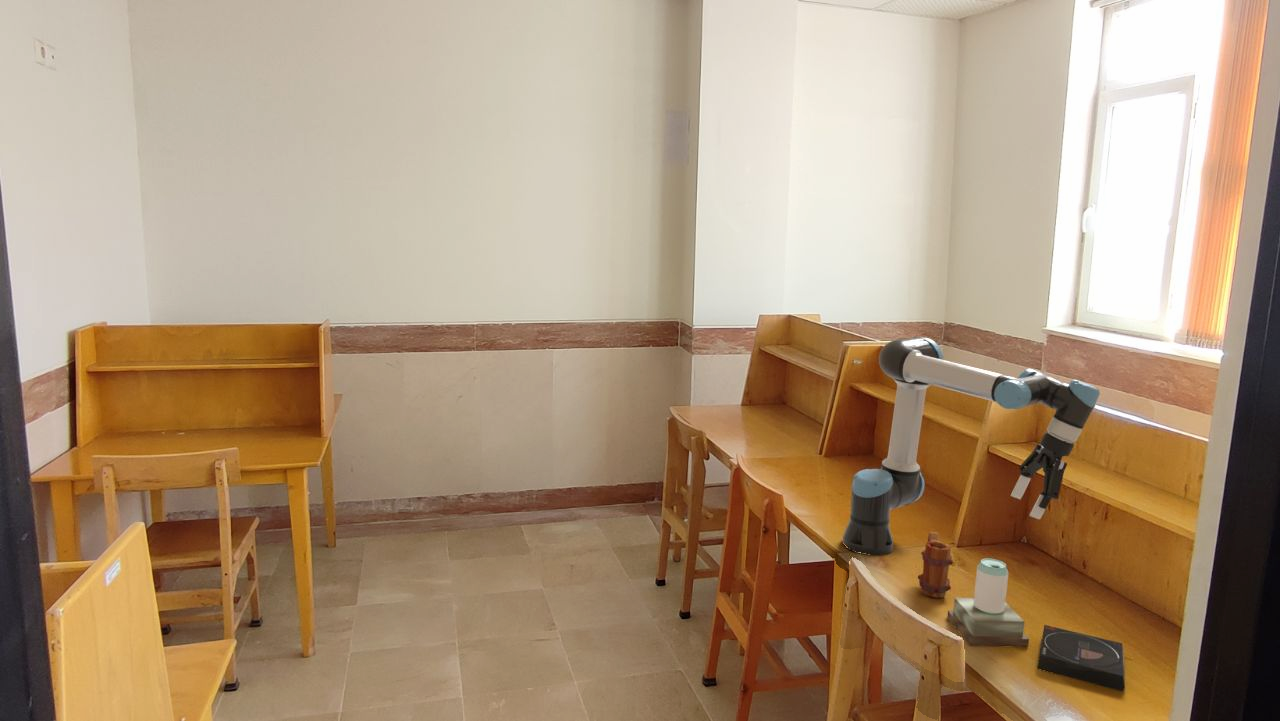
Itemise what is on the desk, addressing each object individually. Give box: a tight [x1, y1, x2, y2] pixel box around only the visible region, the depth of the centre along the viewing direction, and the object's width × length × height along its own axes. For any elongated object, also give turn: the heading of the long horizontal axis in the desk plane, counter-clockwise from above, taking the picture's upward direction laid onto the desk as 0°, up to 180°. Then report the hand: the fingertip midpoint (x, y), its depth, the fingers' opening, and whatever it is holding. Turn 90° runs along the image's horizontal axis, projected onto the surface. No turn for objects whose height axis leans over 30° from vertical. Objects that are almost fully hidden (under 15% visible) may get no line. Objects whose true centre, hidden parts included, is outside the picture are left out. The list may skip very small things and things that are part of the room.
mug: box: [917, 531, 954, 598], centre depth 224 cm, size 15×8×15 cm, turn 168°
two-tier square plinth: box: [946, 597, 1030, 648], centre depth 202 cm, size 14×14×6 cm
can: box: [973, 558, 1009, 614], centre depth 201 cm, size 7×7×12 cm
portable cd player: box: [1037, 624, 1126, 692], centre depth 189 cm, size 16×17×4 cm
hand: (1024, 507), depth 222 cm, fingers open, 13 cm apart
